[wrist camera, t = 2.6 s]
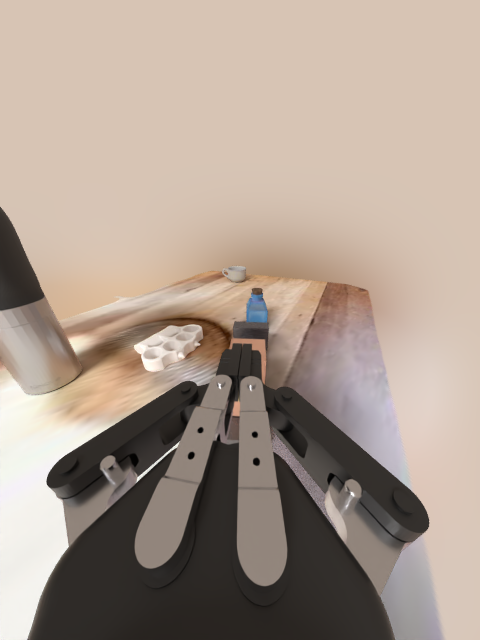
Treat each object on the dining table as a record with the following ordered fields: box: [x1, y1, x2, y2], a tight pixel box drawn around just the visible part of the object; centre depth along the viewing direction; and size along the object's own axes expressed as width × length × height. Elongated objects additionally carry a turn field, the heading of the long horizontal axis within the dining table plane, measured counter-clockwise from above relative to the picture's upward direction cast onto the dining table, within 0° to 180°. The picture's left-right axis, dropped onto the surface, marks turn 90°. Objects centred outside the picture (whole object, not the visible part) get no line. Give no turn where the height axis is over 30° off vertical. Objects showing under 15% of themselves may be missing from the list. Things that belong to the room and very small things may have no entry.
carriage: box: [229, 338, 266, 416], centre depth 27 cm, size 6×5×11 cm
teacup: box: [222, 266, 246, 282], centre depth 107 cm, size 14×11×8 cm
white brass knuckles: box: [134, 324, 203, 371], centre depth 48 cm, size 3×18×15 cm
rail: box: [227, 322, 269, 444], centre depth 35 cm, size 24×8×8 cm, turn 175°
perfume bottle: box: [247, 288, 268, 323], centre depth 56 cm, size 6×6×12 cm
